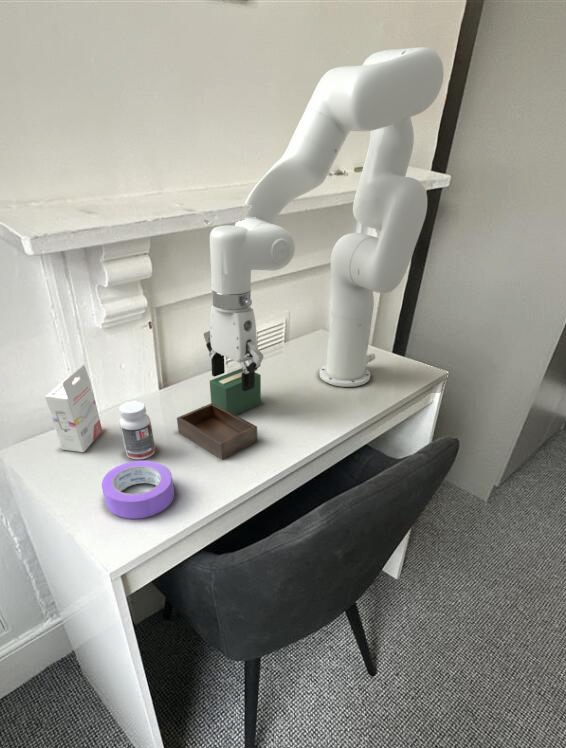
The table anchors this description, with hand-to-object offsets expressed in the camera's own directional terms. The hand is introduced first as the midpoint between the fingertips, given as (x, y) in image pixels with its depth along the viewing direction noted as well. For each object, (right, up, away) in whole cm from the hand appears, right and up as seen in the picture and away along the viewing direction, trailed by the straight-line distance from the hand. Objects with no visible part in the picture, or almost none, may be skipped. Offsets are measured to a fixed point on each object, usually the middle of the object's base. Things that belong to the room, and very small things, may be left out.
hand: (232, 381), depth 107 cm
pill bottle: (-17, -17, -10) cm, 26 cm away
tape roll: (-15, -26, -21) cm, 36 cm away
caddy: (-3, -13, -6) cm, 14 cm away
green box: (+1, -5, +4) cm, 6 cm away
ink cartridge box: (-30, -14, -7) cm, 34 cm away
